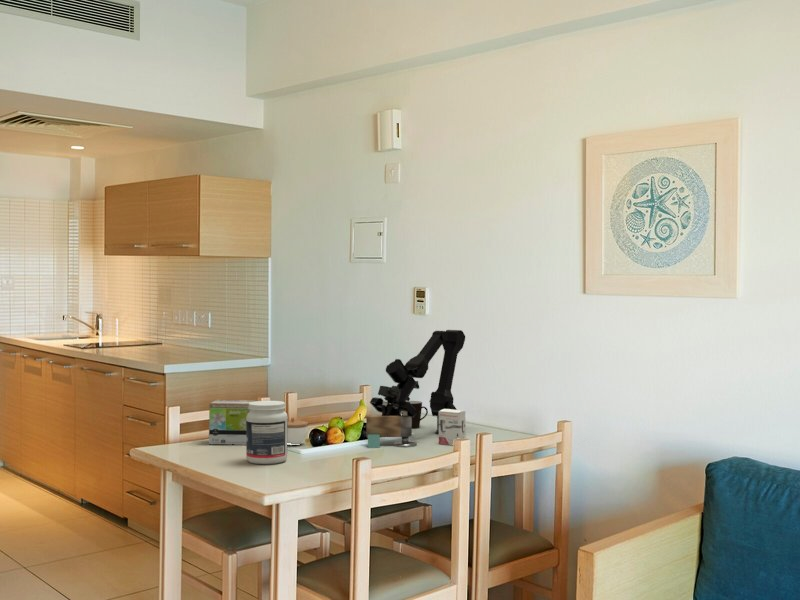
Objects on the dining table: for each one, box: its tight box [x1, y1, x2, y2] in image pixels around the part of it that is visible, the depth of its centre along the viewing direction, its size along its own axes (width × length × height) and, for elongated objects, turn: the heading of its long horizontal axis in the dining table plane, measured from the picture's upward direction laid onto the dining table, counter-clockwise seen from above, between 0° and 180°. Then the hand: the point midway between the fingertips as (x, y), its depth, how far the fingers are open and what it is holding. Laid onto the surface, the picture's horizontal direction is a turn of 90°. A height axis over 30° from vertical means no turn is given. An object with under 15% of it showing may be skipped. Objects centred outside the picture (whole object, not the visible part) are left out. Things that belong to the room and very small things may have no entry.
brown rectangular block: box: [365, 414, 413, 438], centre depth 300 cm, size 16×4×7 cm, turn 92°
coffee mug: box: [401, 400, 429, 430], centre depth 338 cm, size 12×9×10 cm
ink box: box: [438, 409, 466, 446], centre depth 303 cm, size 9×5×12 cm, turn 62°
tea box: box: [208, 399, 256, 446], centre depth 304 cm, size 15×10×15 cm, turn 92°
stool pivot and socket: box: [367, 433, 418, 449], centre depth 300 cm, size 11×17×4 cm, turn 84°
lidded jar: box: [287, 417, 309, 445], centre depth 301 cm, size 11×11×9 cm
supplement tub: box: [245, 400, 289, 465], centre depth 271 cm, size 13×13×18 cm
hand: (381, 426), depth 302 cm, fingers closed
